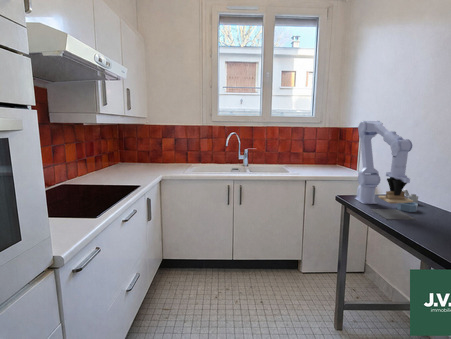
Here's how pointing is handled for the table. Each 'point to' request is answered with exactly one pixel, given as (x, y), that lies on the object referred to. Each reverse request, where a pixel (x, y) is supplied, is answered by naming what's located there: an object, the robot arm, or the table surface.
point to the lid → (395, 198)
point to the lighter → (411, 196)
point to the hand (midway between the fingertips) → (395, 194)
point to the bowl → (407, 207)
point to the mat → (393, 214)
